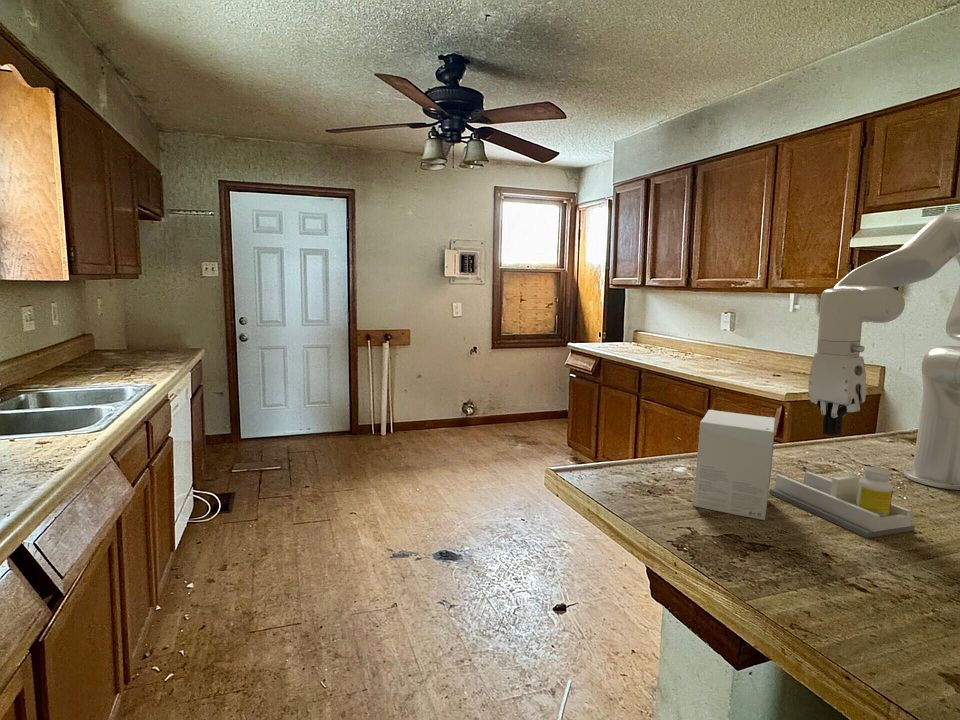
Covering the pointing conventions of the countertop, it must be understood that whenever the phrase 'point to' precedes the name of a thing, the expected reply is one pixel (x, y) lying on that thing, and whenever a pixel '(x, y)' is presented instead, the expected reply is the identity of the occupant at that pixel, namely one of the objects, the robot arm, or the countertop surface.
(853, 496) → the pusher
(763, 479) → the supplement box
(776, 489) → the lane
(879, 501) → the supplement bottle
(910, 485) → the countertop surface
